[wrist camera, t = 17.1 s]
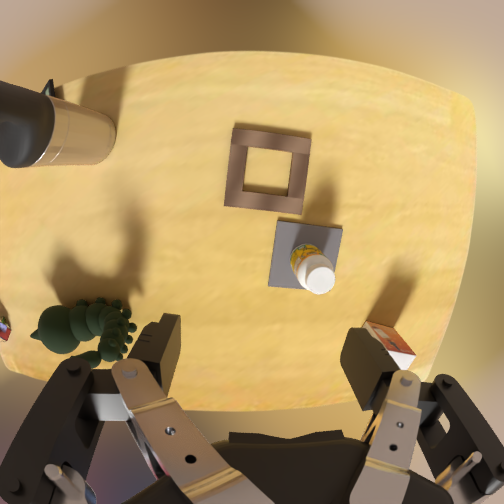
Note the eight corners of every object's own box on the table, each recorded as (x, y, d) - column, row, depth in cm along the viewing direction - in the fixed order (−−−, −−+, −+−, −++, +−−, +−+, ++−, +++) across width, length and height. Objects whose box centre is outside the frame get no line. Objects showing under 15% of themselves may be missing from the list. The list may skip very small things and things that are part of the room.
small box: (393, 327, 50) (417, 355, 40) (380, 348, 52) (401, 378, 41) (365, 319, 49) (388, 349, 39) (352, 342, 51) (371, 374, 40)
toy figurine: (135, 280, 47) (40, 298, 45) (98, 335, 29) (-8, 342, 27) (150, 324, 50) (56, 336, 48) (126, 390, 31) (17, 386, 30)
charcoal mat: (268, 285, 46) (268, 286, 46) (277, 220, 43) (277, 221, 43) (329, 289, 47) (330, 291, 46) (341, 229, 44) (342, 229, 43)
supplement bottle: (285, 270, 45) (295, 294, 36) (294, 239, 44) (308, 257, 34) (315, 277, 46) (332, 302, 36) (325, 247, 44) (345, 266, 35)
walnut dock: (224, 205, 42) (223, 205, 41) (233, 129, 39) (232, 128, 38) (300, 214, 43) (301, 214, 42) (309, 140, 40) (311, 139, 39)
